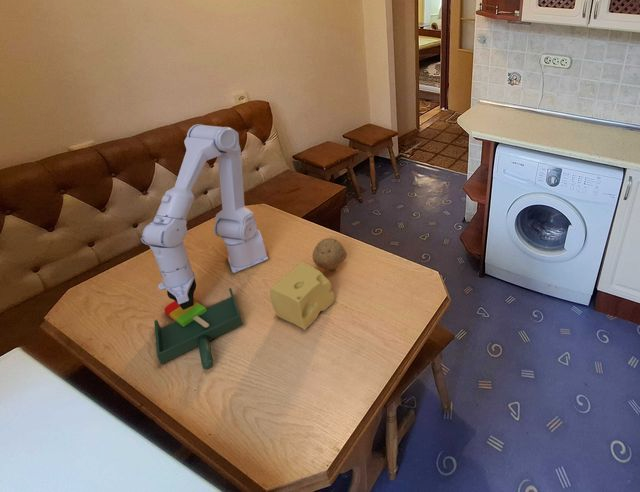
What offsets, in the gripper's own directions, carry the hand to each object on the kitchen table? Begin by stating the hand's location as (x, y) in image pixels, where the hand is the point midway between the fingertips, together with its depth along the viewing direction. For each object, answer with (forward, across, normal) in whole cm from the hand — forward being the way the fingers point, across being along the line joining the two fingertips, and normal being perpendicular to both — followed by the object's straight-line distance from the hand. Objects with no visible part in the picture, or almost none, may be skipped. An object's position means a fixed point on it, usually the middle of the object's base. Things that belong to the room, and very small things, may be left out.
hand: (188, 306), depth 91 cm
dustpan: (+2, +12, +2) cm, 12 cm away
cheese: (+2, +18, +23) cm, 29 cm away
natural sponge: (+1, +7, +34) cm, 35 cm away
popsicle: (+2, +2, 0) cm, 3 cm away
